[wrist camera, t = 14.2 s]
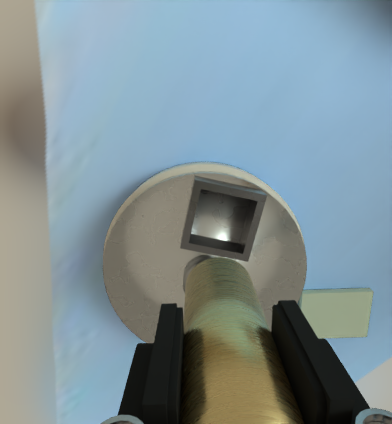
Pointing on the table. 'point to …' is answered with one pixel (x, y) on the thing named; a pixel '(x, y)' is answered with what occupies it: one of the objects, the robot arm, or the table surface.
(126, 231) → the grey round shallow disc
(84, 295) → the table surface
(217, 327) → the brass rounded cylinder
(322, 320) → the mat
